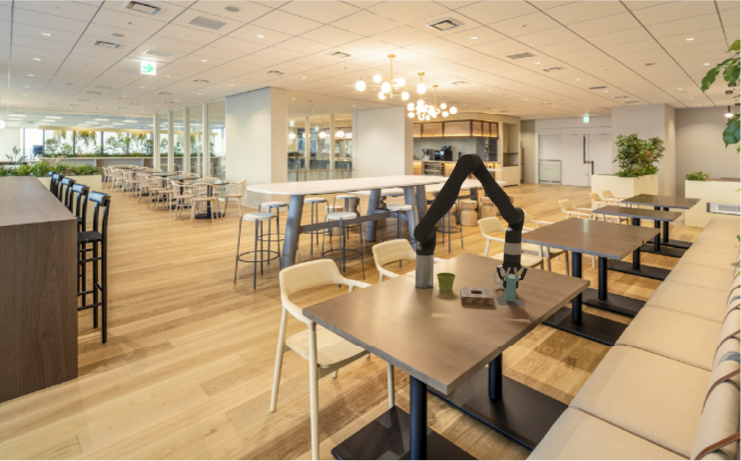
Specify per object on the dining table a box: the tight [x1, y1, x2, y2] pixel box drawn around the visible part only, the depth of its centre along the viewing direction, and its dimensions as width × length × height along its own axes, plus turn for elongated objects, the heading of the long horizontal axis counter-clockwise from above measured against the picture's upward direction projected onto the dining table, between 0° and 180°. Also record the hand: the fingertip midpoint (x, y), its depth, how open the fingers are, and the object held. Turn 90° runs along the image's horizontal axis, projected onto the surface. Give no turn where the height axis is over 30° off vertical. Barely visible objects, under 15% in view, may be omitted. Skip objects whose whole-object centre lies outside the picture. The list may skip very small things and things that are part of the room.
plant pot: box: [436, 272, 456, 293], centre depth 200 cm, size 9×9×9 cm
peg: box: [504, 275, 517, 300], centre depth 183 cm, size 4×4×10 cm
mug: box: [492, 264, 513, 290], centre depth 202 cm, size 10×7×12 cm, turn 96°
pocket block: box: [459, 286, 495, 307], centre depth 186 cm, size 14×14×4 cm
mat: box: [495, 296, 525, 309], centre depth 184 cm, size 11×11×1 cm
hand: (510, 288), depth 183 cm, fingers closed on peg, 4 cm apart
